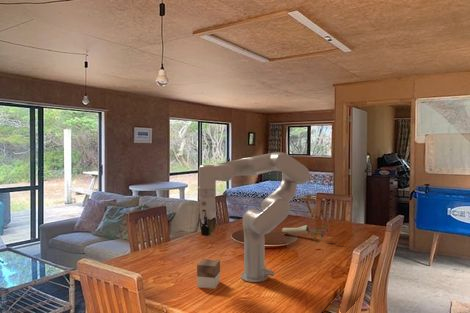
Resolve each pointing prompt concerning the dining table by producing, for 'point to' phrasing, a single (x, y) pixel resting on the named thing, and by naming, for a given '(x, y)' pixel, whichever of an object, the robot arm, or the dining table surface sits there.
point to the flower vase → (305, 230)
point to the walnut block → (208, 268)
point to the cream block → (208, 282)
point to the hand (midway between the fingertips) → (207, 233)
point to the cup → (211, 226)
